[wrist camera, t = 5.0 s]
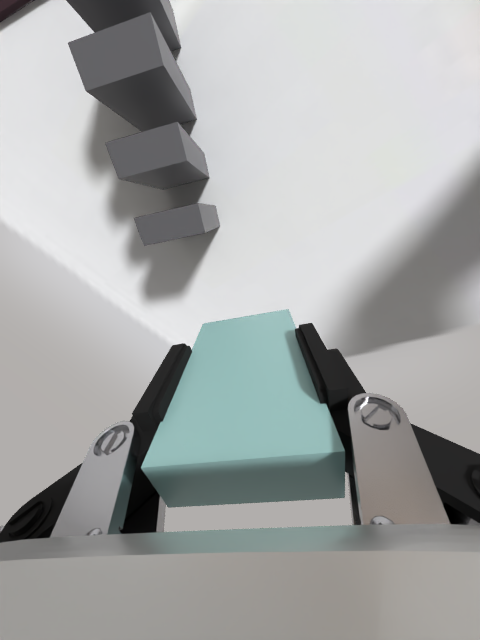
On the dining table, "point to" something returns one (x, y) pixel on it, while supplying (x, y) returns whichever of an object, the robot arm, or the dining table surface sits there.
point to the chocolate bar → (11, 7)
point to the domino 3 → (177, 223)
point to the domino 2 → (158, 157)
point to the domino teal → (246, 422)
